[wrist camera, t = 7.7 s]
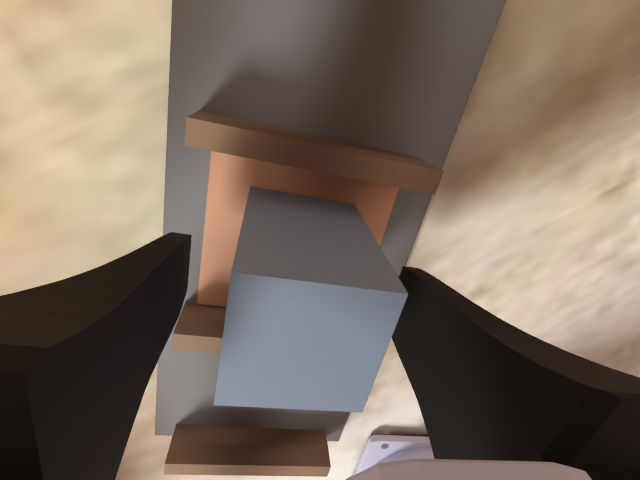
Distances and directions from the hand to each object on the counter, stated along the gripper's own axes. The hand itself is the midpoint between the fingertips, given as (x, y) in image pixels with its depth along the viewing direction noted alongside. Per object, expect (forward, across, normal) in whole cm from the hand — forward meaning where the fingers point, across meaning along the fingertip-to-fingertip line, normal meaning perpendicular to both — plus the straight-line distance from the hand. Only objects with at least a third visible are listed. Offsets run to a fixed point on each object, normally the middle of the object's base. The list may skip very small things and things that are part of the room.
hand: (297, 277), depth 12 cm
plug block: (+2, 0, 0) cm, 2 cm away
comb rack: (+3, 0, 0) cm, 3 cm away
